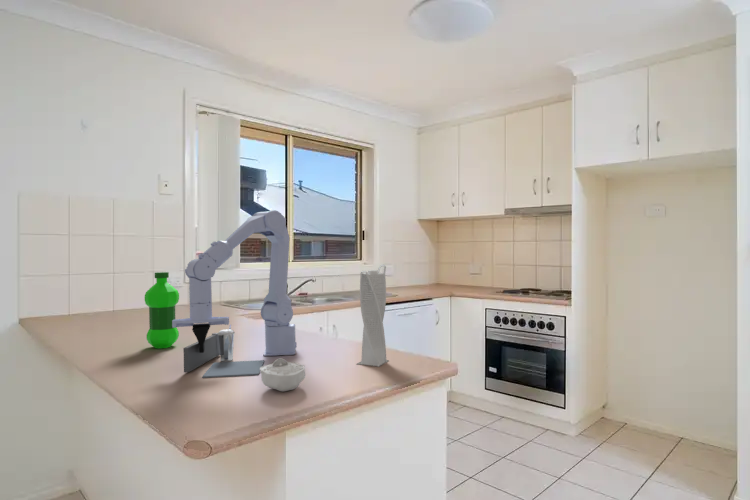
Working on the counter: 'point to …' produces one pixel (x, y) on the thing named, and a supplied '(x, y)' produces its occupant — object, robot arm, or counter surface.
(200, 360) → the grey rectangular panel
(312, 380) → the counter surface
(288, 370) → the cell model
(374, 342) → the skyscraper
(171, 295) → the plastic bottle
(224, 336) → the milkshake
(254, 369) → the mat
